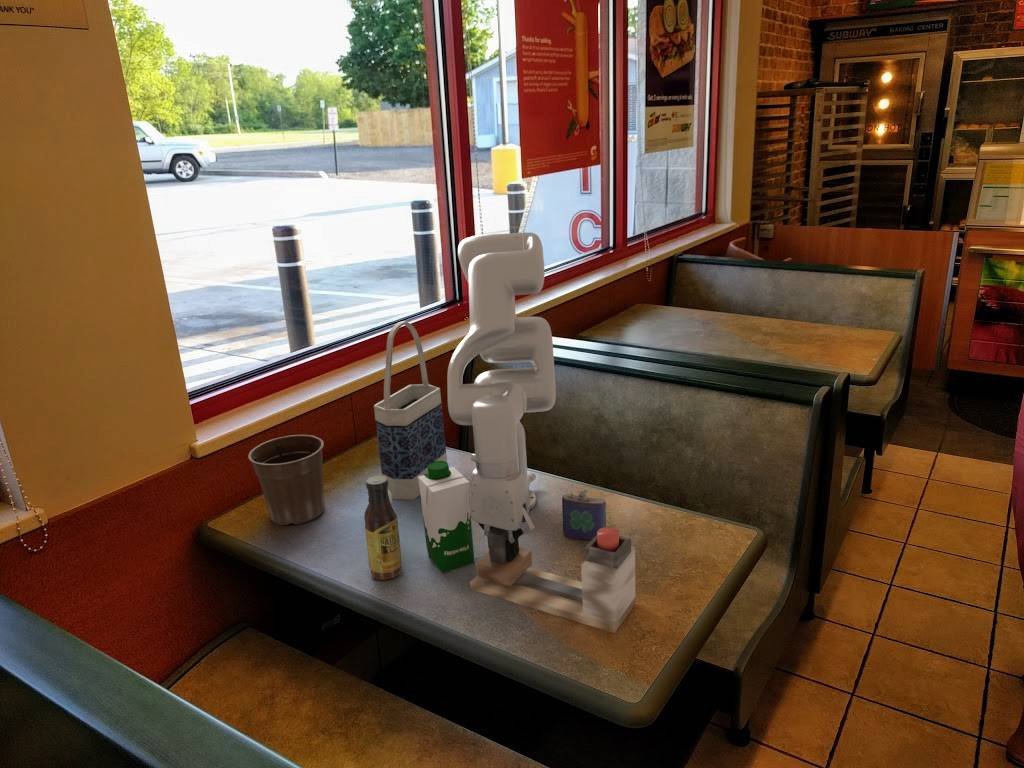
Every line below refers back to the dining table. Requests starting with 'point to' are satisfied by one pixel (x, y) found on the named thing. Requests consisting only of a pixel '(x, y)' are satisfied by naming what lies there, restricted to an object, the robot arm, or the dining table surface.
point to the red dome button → (608, 539)
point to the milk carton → (446, 517)
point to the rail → (578, 588)
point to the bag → (408, 427)
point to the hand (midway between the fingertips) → (504, 554)
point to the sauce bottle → (382, 531)
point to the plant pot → (291, 477)
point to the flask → (582, 516)
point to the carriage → (502, 560)
